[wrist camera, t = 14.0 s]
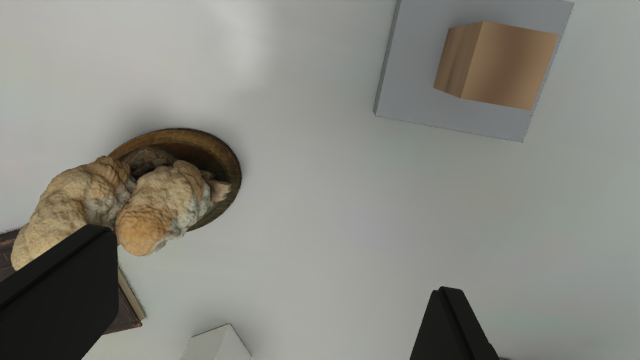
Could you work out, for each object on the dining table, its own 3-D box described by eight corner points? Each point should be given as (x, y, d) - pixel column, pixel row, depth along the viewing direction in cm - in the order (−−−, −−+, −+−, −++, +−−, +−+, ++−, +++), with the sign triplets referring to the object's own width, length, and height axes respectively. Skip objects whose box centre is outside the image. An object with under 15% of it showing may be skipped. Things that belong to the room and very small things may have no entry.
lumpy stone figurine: (126, 249, 44) (0, 361, 28) (74, 161, 41) (-105, 232, 24) (260, 205, 41) (205, 303, 25) (215, 106, 37) (117, 145, 21)
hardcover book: (150, 314, 48) (141, 326, 45) (6, 346, 51) (-9, 359, 49) (91, 207, 43) (78, 215, 40) (-63, 251, 46) (-83, 261, 44)
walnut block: (505, 38, 31) (558, 34, 23) (487, 97, 33) (531, 110, 25) (448, 28, 31) (483, 20, 23) (432, 87, 33) (460, 98, 25)
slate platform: (554, 7, 32) (574, 2, 30) (508, 135, 37) (522, 142, 34) (401, -21, 32) (407, -28, 30) (373, 111, 36) (375, 116, 34)
